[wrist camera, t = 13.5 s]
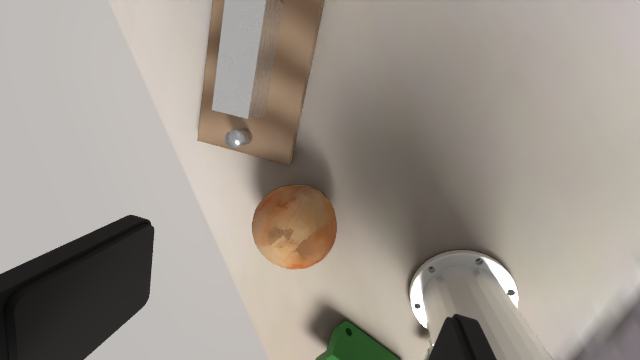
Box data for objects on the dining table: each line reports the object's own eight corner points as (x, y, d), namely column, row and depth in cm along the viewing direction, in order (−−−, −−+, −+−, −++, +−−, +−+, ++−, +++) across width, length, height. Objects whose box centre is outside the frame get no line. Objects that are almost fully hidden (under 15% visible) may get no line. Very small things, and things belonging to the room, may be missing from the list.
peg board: (291, 162, 38) (280, 170, 33) (203, 139, 39) (182, 143, 35) (331, -36, 32) (325, -58, 27) (226, -56, 33) (204, -80, 28)
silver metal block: (283, 5, 32) (267, -12, 27) (264, 116, 35) (247, 119, 31) (248, -3, 32) (227, -21, 28) (233, 108, 36) (211, 109, 31)
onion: (264, 237, 41) (232, 278, 32) (273, 168, 38) (240, 189, 29) (333, 253, 40) (321, 301, 30) (347, 183, 37) (338, 210, 28)
